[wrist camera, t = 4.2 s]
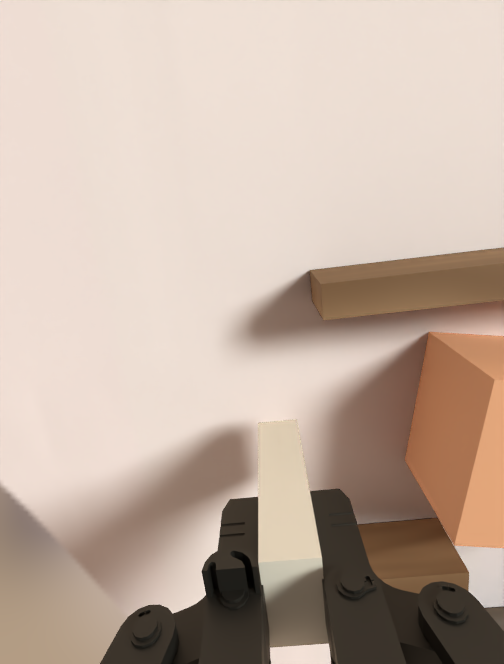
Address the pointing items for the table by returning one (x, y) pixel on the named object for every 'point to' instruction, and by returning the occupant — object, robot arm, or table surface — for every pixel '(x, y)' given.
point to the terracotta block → (461, 436)
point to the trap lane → (398, 296)
